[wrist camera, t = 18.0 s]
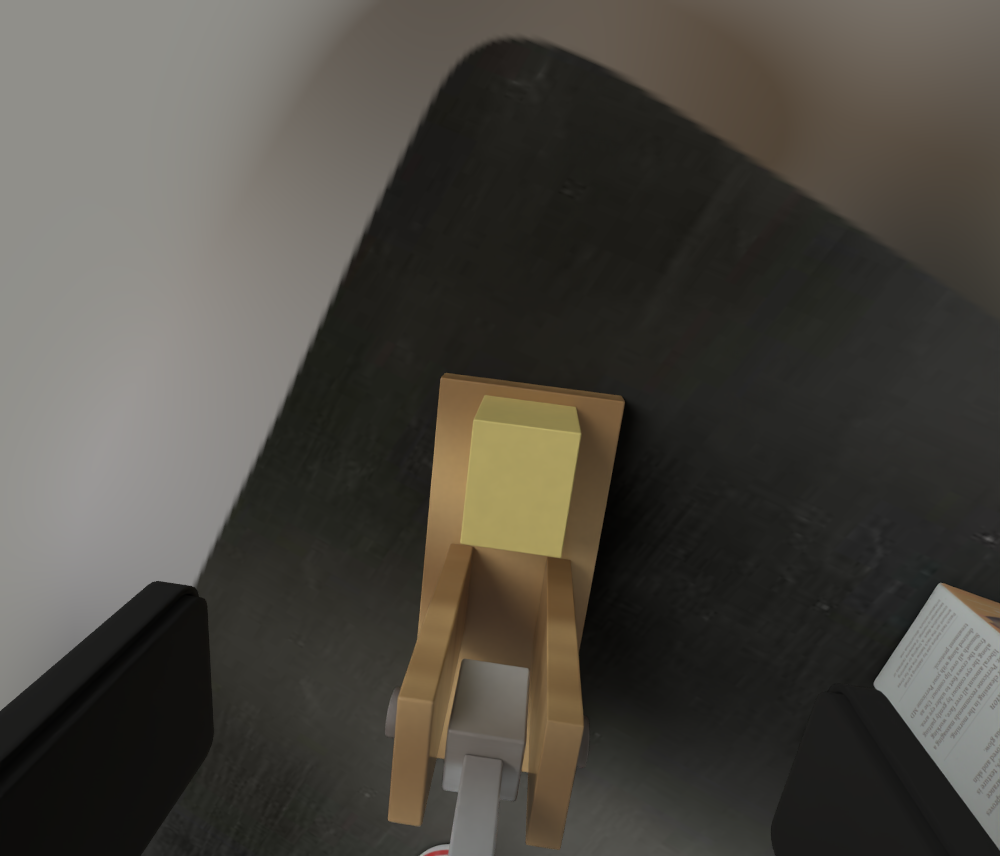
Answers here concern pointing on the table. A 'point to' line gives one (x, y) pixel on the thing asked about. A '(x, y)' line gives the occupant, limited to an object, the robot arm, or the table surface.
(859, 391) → the table surface
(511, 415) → the butter
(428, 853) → the pill bottle
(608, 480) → the wooden lever base
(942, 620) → the small box
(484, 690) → the ball topped lever
